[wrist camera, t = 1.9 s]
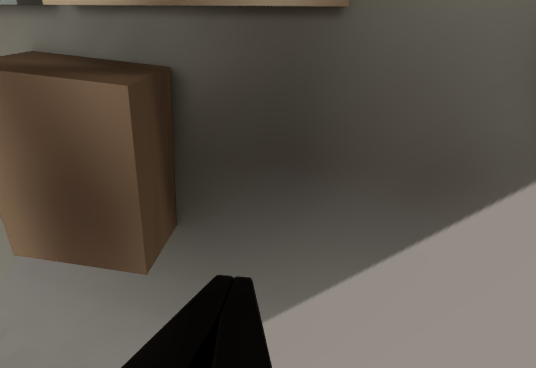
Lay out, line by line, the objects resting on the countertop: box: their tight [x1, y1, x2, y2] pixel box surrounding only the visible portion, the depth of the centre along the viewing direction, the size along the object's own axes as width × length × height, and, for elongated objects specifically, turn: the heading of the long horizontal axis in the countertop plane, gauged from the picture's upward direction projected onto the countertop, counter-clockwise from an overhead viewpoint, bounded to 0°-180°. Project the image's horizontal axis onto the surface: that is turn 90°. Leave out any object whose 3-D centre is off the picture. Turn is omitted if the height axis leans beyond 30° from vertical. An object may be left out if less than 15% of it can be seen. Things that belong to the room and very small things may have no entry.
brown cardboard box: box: [0, 51, 177, 275], centre depth 15 cm, size 6×8×4 cm
